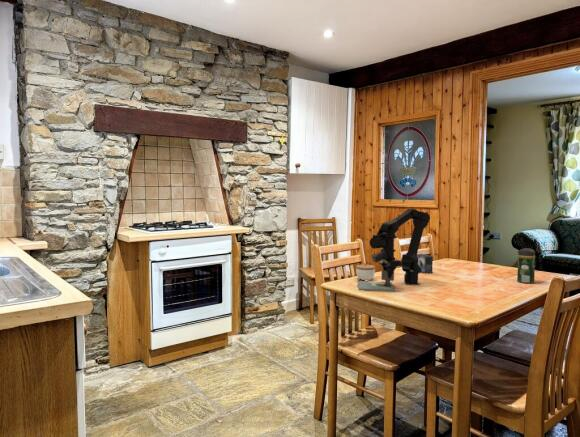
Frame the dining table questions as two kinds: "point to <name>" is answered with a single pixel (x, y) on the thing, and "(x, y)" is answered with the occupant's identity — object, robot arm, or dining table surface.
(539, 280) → the dining table surface
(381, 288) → the tuner board
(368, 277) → the lidded jar
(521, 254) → the coffee jar
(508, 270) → the dining table surface
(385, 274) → the peg knob
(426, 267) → the small box
